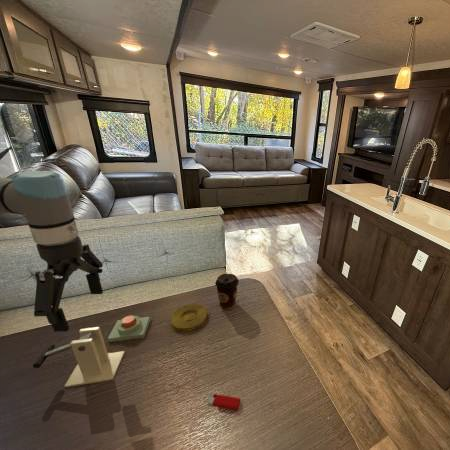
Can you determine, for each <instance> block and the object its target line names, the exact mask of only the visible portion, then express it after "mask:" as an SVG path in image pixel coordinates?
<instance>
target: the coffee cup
mask: <svg viewBox="0 0 450 450" xmlns="http://www.w3.org/2000/svg"><path fill="white" fill-rule="evenodd" d="M239 283H240V281H239V278H238V276H237V275H236V274H233V273H222V274H220V275H219V276H218V277H217V279H216V280H215V284H214V285H215V287H216V291H217V292H216V293H217V297H218V301H219V307H220V308H221V309H223V310H231V309H233V308H234V307H236V304H237V302H236V300H237V293H238V285H239Z"/></svg>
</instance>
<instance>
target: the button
mask: <svg viewBox="0 0 450 450" xmlns="http://www.w3.org/2000/svg"><path fill="white" fill-rule="evenodd" d="M134 316H135V315H131V314H129V315H126V316H125V317H123V318H122V319H121V320H122V325H123V327H124V328H129V327H131V326H133V325H134V324H135V317H134Z"/></svg>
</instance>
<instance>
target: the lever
mask: <svg viewBox="0 0 450 450" xmlns="http://www.w3.org/2000/svg"><path fill="white" fill-rule="evenodd" d="M96 338H97V337H96V336H95V335H94V334H93V333H92V332H90V333H87V334H85V335H82V336H80V337H79V339H78V340H83V339H93V342H95V340H96ZM71 349H72V347H71V342H70V343H68V344H65V345H62V346H60V347H59V346H58V347H56V345H55V344H52V343H50V344H48V345H47V347H46V348H45V349H44V350H43V352H42V353H41V354H40V355H39V357H38V358H37V359H36V360H35V362H33V364H32V367H33V368H34V369H39V368H41V366H42V365H43V364H44V363H45V361H46V360H47V358H50V357H53V356H55V355H58V354H60V353H63V352H67V351H69V350H71Z"/></svg>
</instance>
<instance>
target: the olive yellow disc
mask: <svg viewBox="0 0 450 450" xmlns="http://www.w3.org/2000/svg"><path fill="white" fill-rule="evenodd" d="M207 317H208V312H207V308H206V307H204V306H203V305H201V304H193V303H192V304H191V303H190V304H186V305H183V306H181V307H179V308H178V309H176V310H174V312H173V313H172V315H171V317H170V324H171V327H172V328H173V329H174V330H175V331H177V332H183V333H184V332H191V331H195V330H197V329H198V328H201V326H203V325H204V324H205V323H206V321H207Z"/></svg>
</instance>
